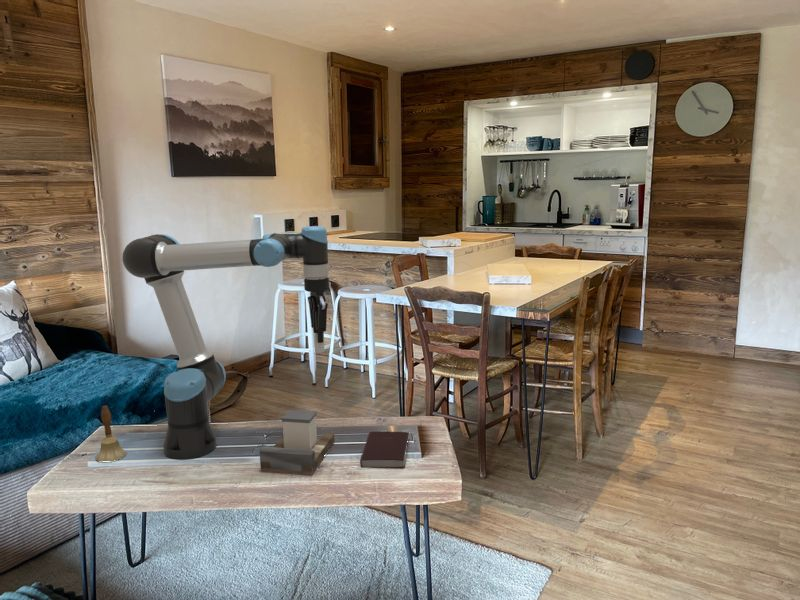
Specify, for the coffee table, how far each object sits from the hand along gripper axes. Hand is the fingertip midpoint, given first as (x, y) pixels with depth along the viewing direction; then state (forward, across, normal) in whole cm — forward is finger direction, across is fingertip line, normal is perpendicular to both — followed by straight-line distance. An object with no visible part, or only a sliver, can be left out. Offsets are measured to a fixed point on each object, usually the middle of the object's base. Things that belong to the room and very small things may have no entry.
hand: (319, 351), depth 193 cm
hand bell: (+27, +11, +62) cm, 68 cm away
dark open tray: (+26, -14, +12) cm, 32 cm away
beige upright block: (+25, -13, +11) cm, 30 cm away
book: (+27, -23, -12) cm, 38 cm away
